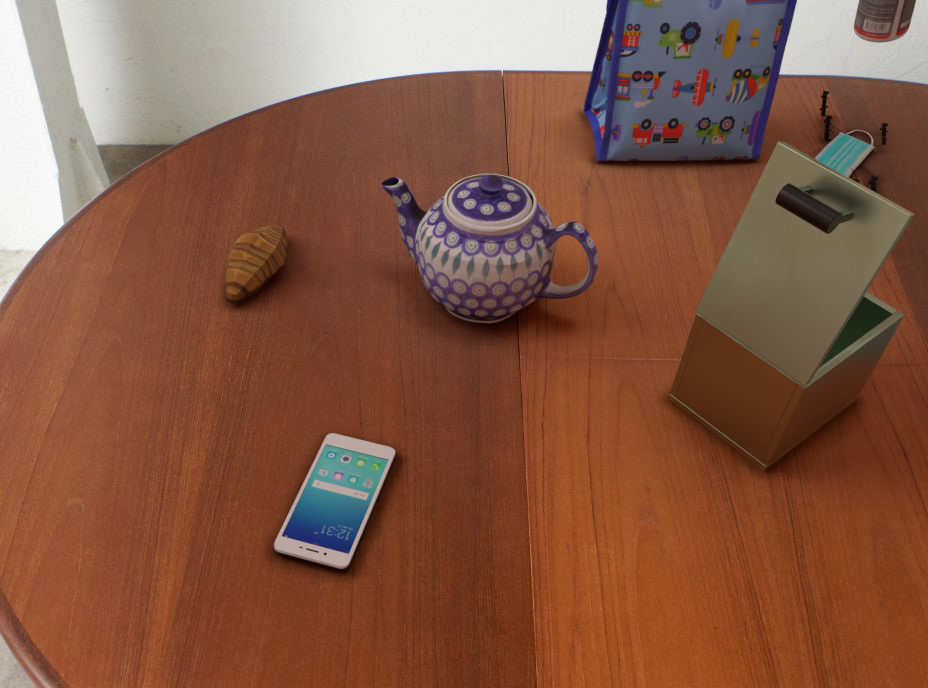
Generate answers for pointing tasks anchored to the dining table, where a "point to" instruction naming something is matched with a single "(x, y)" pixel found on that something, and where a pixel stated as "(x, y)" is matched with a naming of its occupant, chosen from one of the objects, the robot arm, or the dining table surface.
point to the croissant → (254, 261)
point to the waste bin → (776, 384)
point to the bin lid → (800, 261)
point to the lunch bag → (686, 78)
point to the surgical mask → (846, 148)
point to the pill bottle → (883, 19)
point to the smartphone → (335, 502)
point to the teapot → (486, 246)
